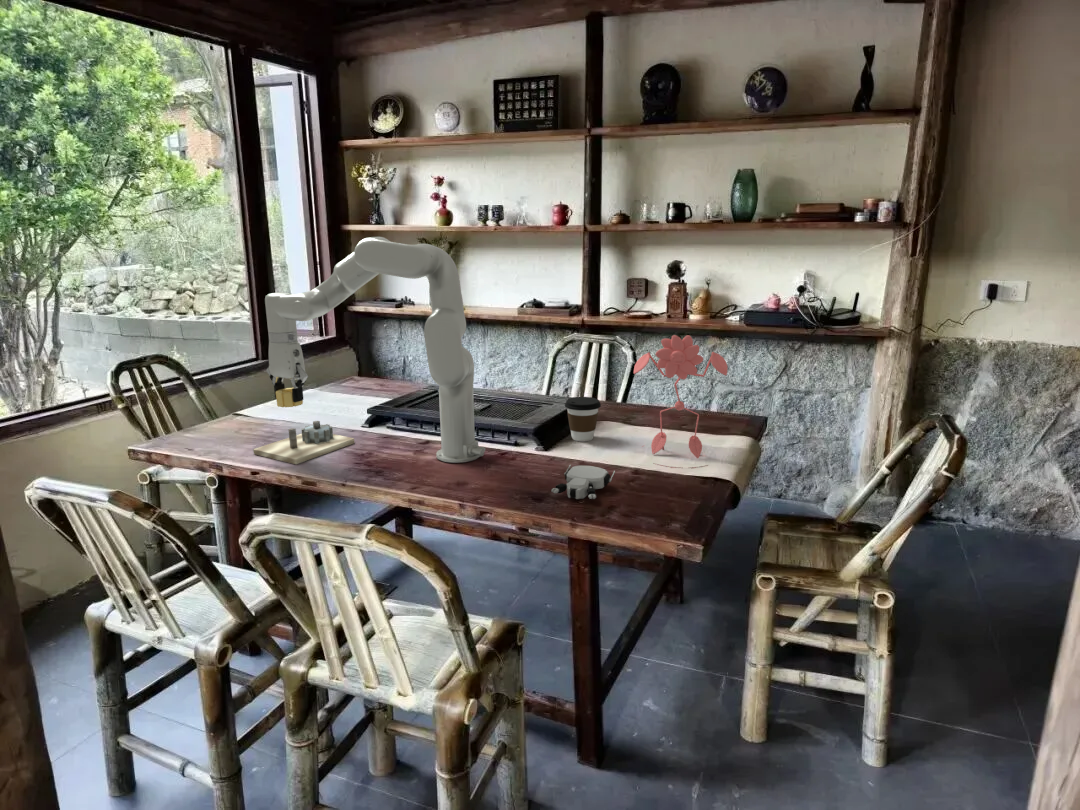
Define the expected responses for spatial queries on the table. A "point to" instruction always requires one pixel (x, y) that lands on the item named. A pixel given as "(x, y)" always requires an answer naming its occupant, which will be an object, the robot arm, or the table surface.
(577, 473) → the robot toy
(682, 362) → the dancing flower figure
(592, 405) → the coffee cup
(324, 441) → the gear board
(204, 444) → the table surface
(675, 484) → the table surface
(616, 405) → the table surface
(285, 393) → the ochre gear
